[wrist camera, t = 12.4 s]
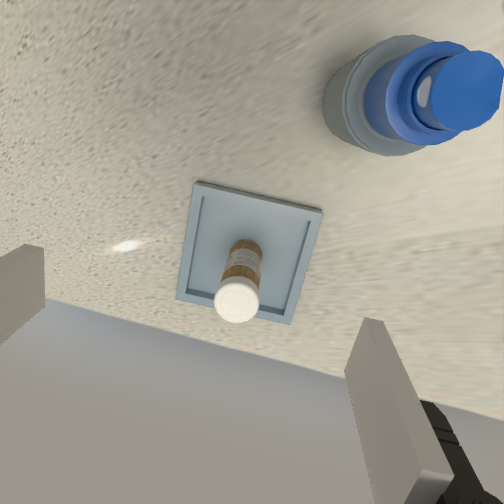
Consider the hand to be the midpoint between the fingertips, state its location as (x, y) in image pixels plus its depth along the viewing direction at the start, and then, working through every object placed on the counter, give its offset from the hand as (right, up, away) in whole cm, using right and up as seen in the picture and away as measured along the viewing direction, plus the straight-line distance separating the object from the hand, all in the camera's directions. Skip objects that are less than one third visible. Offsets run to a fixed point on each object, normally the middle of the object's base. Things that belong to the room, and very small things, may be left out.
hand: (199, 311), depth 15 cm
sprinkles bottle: (+1, +2, +34) cm, 34 cm away
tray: (+1, +2, +34) cm, 34 cm away
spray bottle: (+15, +19, +27) cm, 36 cm away
